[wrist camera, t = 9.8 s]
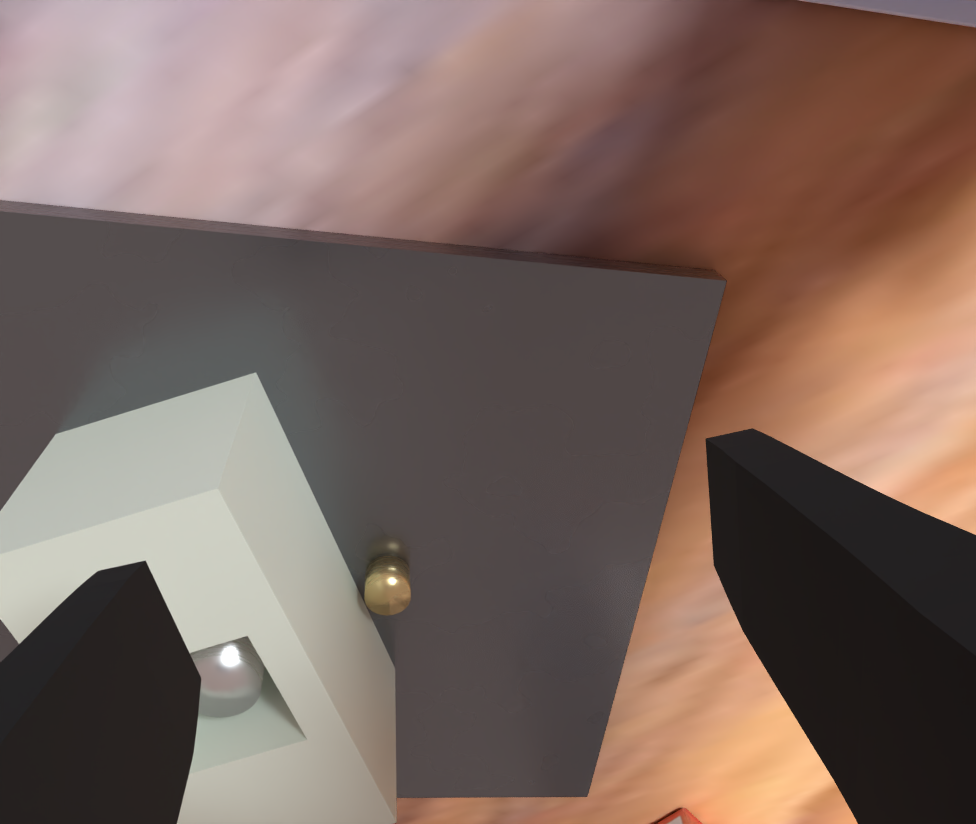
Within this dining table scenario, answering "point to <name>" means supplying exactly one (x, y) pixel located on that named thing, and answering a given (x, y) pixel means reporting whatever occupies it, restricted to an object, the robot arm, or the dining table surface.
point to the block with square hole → (222, 595)
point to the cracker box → (680, 818)
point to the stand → (400, 446)
